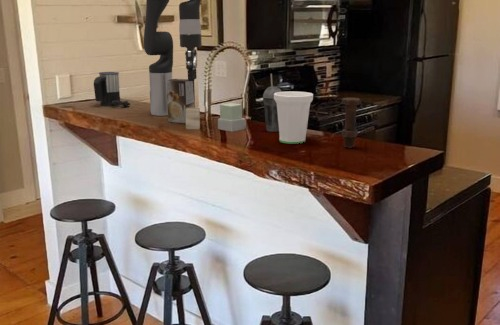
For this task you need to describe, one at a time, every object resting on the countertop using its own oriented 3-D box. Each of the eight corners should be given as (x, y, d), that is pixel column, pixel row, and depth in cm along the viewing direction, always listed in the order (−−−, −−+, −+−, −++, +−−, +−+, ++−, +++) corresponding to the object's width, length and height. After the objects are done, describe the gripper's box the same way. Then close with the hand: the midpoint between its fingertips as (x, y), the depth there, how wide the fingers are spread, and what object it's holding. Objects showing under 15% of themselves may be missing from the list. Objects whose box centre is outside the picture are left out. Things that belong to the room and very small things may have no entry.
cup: (319, 141, 171) (321, 93, 167) (294, 147, 163) (295, 97, 159) (290, 135, 180) (291, 90, 176) (265, 141, 171) (265, 93, 167)
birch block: (186, 126, 194) (186, 107, 192) (200, 126, 194) (199, 107, 193) (186, 129, 190) (185, 109, 188) (199, 129, 190) (199, 109, 188)
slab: (218, 129, 190) (217, 118, 189) (231, 126, 195) (231, 116, 194) (232, 132, 186) (231, 121, 185) (245, 129, 191) (245, 118, 190)
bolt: (353, 150, 159) (355, 100, 155) (337, 148, 162) (339, 99, 158) (360, 146, 164) (362, 98, 160) (344, 144, 167) (347, 96, 163)
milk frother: (105, 103, 249) (103, 71, 245) (137, 103, 247) (136, 71, 243) (92, 107, 235) (90, 74, 231) (126, 108, 233) (124, 74, 229)
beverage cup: (287, 130, 188) (288, 73, 183) (273, 133, 183) (274, 74, 178) (271, 127, 193) (272, 71, 188) (258, 130, 188) (258, 73, 182)
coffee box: (196, 121, 204) (195, 79, 200) (187, 124, 199) (185, 81, 195) (176, 119, 208) (175, 78, 204) (167, 121, 203) (165, 79, 199)
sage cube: (220, 118, 189) (220, 104, 188) (230, 116, 193) (230, 103, 192) (231, 120, 186) (231, 106, 184) (241, 118, 190) (241, 104, 188)
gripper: (181, 33, 191) (183, 78, 195) (177, 33, 177) (179, 82, 181) (202, 33, 191) (204, 78, 195) (199, 32, 177) (201, 81, 181)
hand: (192, 80), depth 188 cm, fingers open, 8 cm apart
